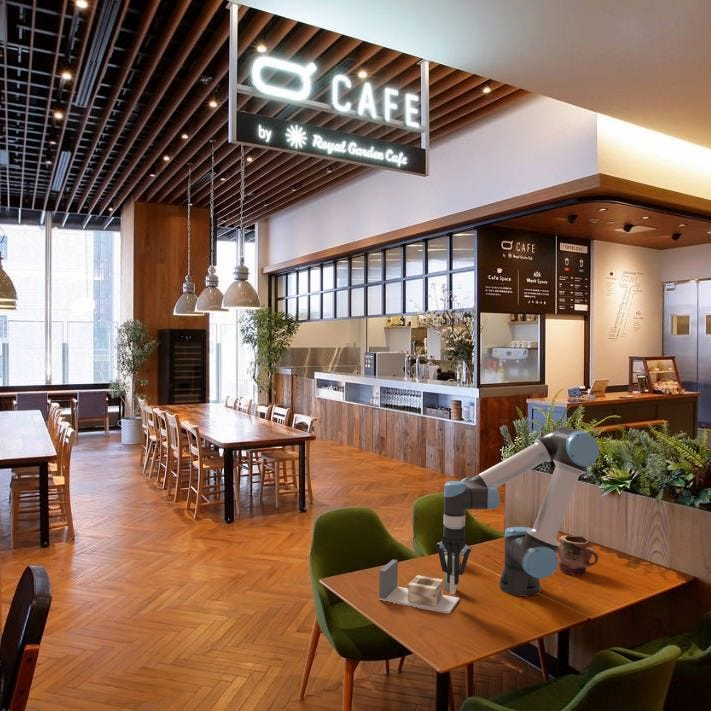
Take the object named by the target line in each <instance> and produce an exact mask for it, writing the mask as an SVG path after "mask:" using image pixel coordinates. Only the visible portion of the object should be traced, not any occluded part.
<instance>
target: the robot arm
mask: <svg viewBox="0 0 711 711" xmlns="http://www.w3.org/2000/svg"><path fill="white" fill-rule="evenodd" d="M599 453H600V447H599V444H598V442H597V439H596V438H595V437H594V436H593V435H591V434H589V433H587V432H586V431H584V430H583V431H582V430H579V429H576V428H572V427H569V426H566V427H565V426H564V427H559V428H555V429H553V430H550V431H549V432H547V433H545V434H543V435H541V436H540V437H538V438H536V439H535V440H534V443H533V444H531V445H529V446H527V447H525V448H524V449H521V450H520V451H518V452H516V453H514V454H513V455H510V456H509V457H508V458H506V459H504V460H502V461H501V462H499V463H497V464H495V465H493V466H491V467H490V468H487V469H485V470H484V471H482V472H481V473H479V474H477V475H474V476H473V477H465V478H462V479H461V480H460V481H459V480H458V481H457V480H448V481H447V482H445V484H444V487H443V488H444V490H443V521H442V522H443V527H442V528H443V529H442V531H443V532H442V539H441V541H440V542H437V543H436V544H435V548H436V550H437V553H438V556H439V561H440V567H441V571H442V572H443V573H445V572H446V573H447V582H448V583H450V591H449V594H450V595H455V594H456V592H457V585H458V584H459V583H460V576H462V575H463V574H464V573H465V570H466V567H467V563H468V559H469V556H470V553H471V552H472V551H473V548H472V547H471V546H468V545H467V542H466V538H465V537H466V536H465V535H466V528H465V526H466V510H487V511H490V510H496V509H498V507H499V506H500V501H501V498H500V497H501V496H500V492H499V490H498V488H499V487H502V486H503V485H504V484H506V483H508V482H510V481H511V480H513V479H515V478H517V477H519V476H521V475H522V474H524V473H526V472H528V471H530V470H531V469H533V468H535V467H537V466H538V465H541V464H542V463H544V462H547V463H550V462H551V461H552V462H553V463H554V466H555V467H554V470H553V473H552V475H551V478H550V480H549V483H548V485H547V489H546V491H545V494H544V497H543V499H542V503H541V505H540V508H539V510H538V513H537V516H536V519H535V522H534V524H533V525H532V526H533V527H527V526H526V527H525V526H513V527H512V526H510V527H507V528H506V529H505V530H504V567H503V569H502V572H501V575H500V577H499V588H500V590H502V591H503V592H504V591H505V593H506V592H507V594H509V593H511V594H510V595H513V594H516V595H515V596H518V595H533V596H535V595H534V594H537V593H539V592H540V591H541V590H542V589H541V588H542V587H541V586H542V584H541V582H540V579H545V578H549V577H550V576H552V575H553V574H554V573H555V571H556V570H557V569H558V566H559V558H558V554H557V553H556V551H557V549H558V546H559V544H558V540H557V537H558V535H559V532H560V529H561V527H562V525H563V521H564V518H565V517H566V516H565V515H566V513H567V511H568V507H569V505H570V501H571V499H572V497H573V494H574V493H575V492H574V491H575V488H576V486H577V483H578V480H579V478H580V476H582V475H583V474H586V472H587V469H588V467H589V466H591V465H592V464H594V463H595V462H596V461H597V459H598V457H599V455H600V454H599ZM443 545H444V548H445V549H446V550H447V551H446V553H447V555H444V553H445V551H444V550H443ZM463 548H465V549H463ZM463 550H464V552H465V554H464V552H463V554H464V556H462V560H461V564H460V552H461V551H463ZM453 553H454V557H455V558H454V573H452V571H453V570H452V558H453ZM445 556H447V564H446V559H445ZM540 593H541V592H540ZM540 593H539V594H540ZM537 595H538V594H537Z"/></svg>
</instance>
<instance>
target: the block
mask: <svg viewBox="0 0 711 711" xmlns="http://www.w3.org/2000/svg"><path fill="white" fill-rule="evenodd" d="M407 588H408V601H409V602H415V603H420V604H425V605H430V606H435V605H436V604H437V603H438V602H439V600H440V599H441V598H442V597H443V595H444V579H443V578H437V577H430V576H425V575H424V576H423V575H419V574H417V575H416V576H415V577H414V578H413V579H412V580H411V581H410V582H409V583H408V584H407Z"/></svg>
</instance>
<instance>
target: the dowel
mask: <svg viewBox="0 0 711 711" xmlns="http://www.w3.org/2000/svg"><path fill="white" fill-rule="evenodd" d="M454 558H455V557H454V556H453V558H452V570H453V571H452V573H454ZM445 559H446V564H447V555H445ZM443 590H445V591H447V592H450V583H448V582H447V573H446V572H444V586H443Z"/></svg>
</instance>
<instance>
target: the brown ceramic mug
mask: <svg viewBox="0 0 711 711" xmlns="http://www.w3.org/2000/svg"><path fill="white" fill-rule="evenodd" d="M557 542H558V544H559V546H558V549H557V551H556V555H557V556H559V561H558V566H559V569H560V571H561V572H562V573H563V572H564V574H565V573H567V574H566V575H568V574H570V575H569V576H571V575H575V577H577V575H578V576H582V575H584V574H585V573H586V571H587V569H589V568H591V567H592V566H594V565H595V564H597V563H598V561H599V555H598V553H597V551H596V550H595V549H593V548H592V547H591V546H590V545H591V544H590V542H589V540H588V539H587V538H585V537H583V536H580V535H578V536H577V535H567V534H566V535H562V536H560V537H559V538H558V540H557ZM592 557H594V562H590V561H591V559H592Z"/></svg>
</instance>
